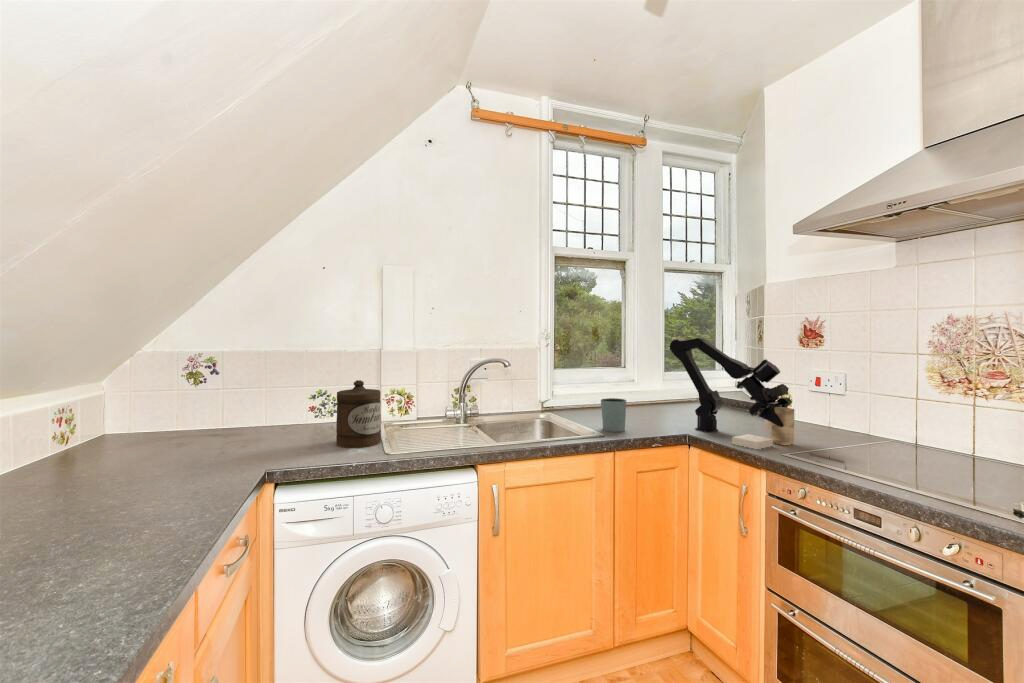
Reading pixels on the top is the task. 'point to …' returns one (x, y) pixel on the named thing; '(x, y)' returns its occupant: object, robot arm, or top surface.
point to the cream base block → (752, 441)
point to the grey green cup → (613, 414)
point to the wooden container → (358, 417)
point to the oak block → (787, 431)
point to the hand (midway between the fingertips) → (786, 425)
